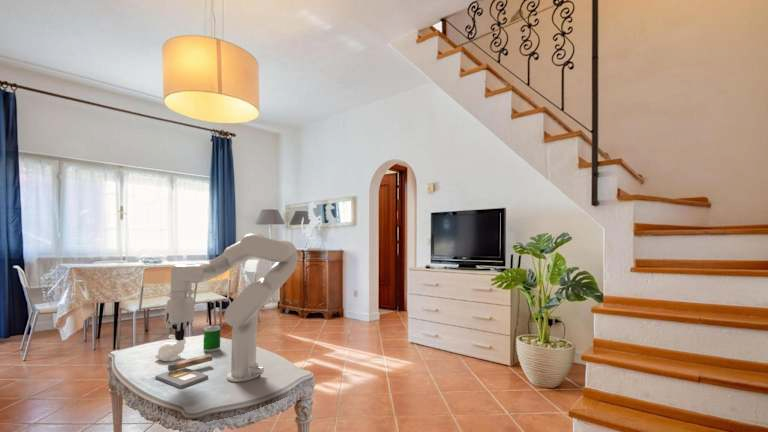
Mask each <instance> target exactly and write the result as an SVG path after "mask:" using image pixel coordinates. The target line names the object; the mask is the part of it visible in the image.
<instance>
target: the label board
mask: <svg viewBox="0 0 768 432" xmlns="http://www.w3.org/2000/svg"><path fill="white" fill-rule="evenodd" d="M155 379H156V380H157V381H161V382H164V383H165V384H168V385H170V386H173V387H175V388H178V389H180V390H181V389H183V388H186V387H189V386H192V385H194V384H198V383H199V382H203V381H204V380H207V379H209V375H208V374H205V373H202V372H200V371H195V370H193V369H190V368H189V367H185V368H181V369H177V370H173V371H169V370H168V371H165V372H162V373H160V374H159V373H158V374H157V375H155Z"/></svg>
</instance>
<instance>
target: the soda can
mask: <svg viewBox="0 0 768 432" xmlns="http://www.w3.org/2000/svg"><path fill="white" fill-rule="evenodd" d="M202 348H203V351H204V352H205V353H214V352H218V351H219V349H220V348H221V326H220V325H219V324H210V325H207V326H205V327H204V328H203V347H202Z"/></svg>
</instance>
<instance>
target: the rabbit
mask: <svg viewBox="0 0 768 432" xmlns="http://www.w3.org/2000/svg"><path fill="white" fill-rule="evenodd" d="M167 338H168V339H169V340H175V341H176V342H175V341H174V342H169V341H168V342H164V343H162V344H161V345H160V347H158V350H157V353H155V356H154V357H155V359H157V360H158V361H162V362H174V361H176V360H179V359H181V358H182V357H181V355H180V354H182V353H183V352H184V350H185V344H186V343H187V342H186V341H187V340H186V337H185V336H184V340H180V341H179V340H176V339H175V334H169V335H168V337H167Z"/></svg>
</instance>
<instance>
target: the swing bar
mask: <svg viewBox="0 0 768 432" xmlns="http://www.w3.org/2000/svg"><path fill="white" fill-rule="evenodd" d="M211 361H213V355H212V354H204V355H200V356H196V357H192V358H186V359H183V360H179V361H176V362H174V361H173V362H171V363H169V364H168V366H167V370H168V371H173V370H177V369H181V368H189V367H192V366H197V365H201V364H204V363H208V362H211Z"/></svg>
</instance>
